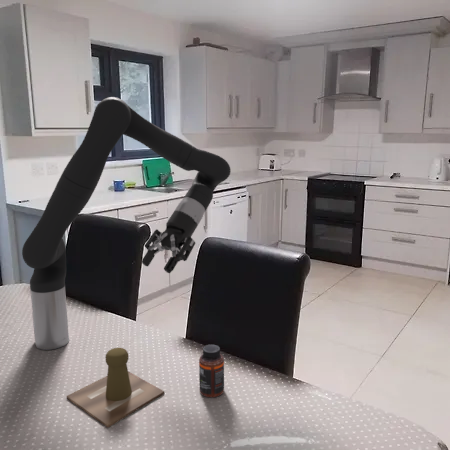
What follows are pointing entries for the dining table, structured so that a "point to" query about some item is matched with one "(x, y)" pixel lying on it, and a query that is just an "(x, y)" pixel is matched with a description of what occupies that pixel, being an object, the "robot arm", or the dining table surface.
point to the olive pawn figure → (117, 375)
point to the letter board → (114, 410)
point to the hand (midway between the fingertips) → (155, 268)
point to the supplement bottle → (211, 371)
